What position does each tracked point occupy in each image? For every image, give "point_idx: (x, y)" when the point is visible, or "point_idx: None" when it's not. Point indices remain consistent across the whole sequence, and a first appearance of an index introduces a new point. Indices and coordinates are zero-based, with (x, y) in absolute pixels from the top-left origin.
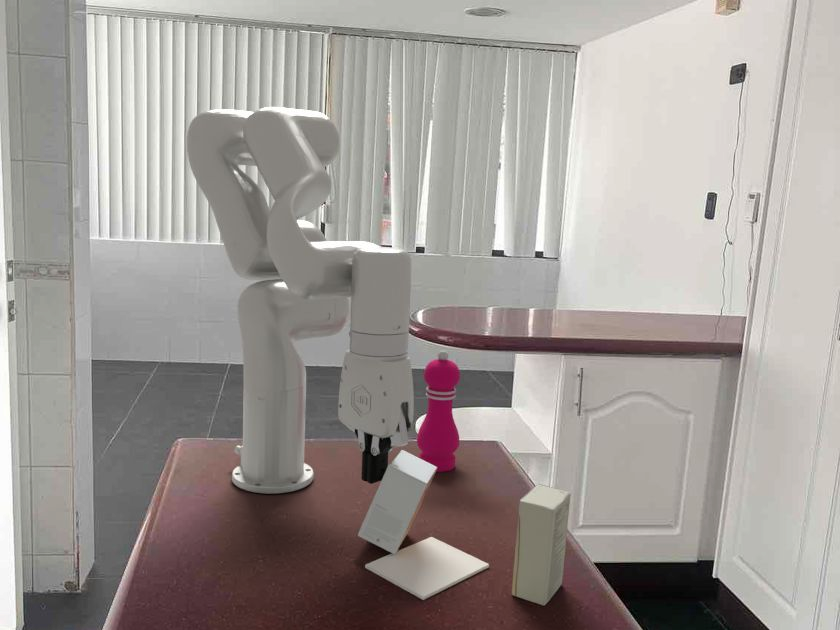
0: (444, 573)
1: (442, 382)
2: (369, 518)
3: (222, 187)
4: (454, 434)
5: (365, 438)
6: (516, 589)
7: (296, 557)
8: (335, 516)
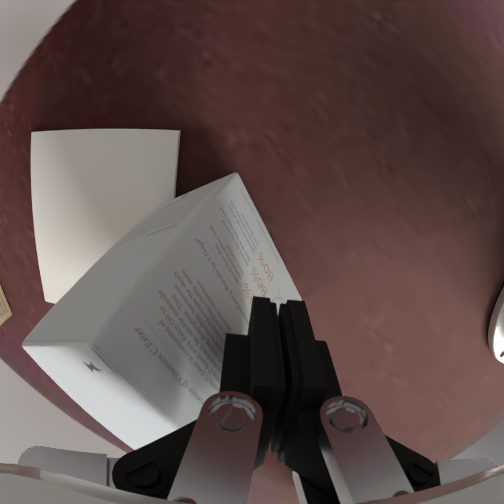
0: (56, 224)
1: None
2: (202, 199)
3: None
4: None
5: (334, 465)
6: None
7: (334, 63)
8: (395, 274)
